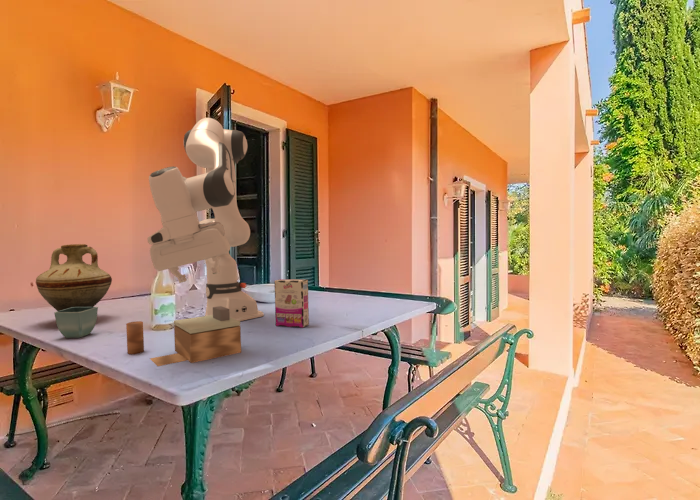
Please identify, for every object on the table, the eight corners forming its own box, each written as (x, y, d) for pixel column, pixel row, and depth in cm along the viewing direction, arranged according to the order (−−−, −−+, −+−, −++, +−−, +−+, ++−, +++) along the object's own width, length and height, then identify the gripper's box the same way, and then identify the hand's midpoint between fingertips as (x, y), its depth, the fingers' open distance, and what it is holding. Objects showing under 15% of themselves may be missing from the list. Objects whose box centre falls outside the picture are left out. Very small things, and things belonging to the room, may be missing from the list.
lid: (220, 317, 116) (220, 303, 116) (240, 325, 105) (240, 310, 105) (174, 324, 108) (173, 309, 108) (190, 333, 97) (189, 317, 97)
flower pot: (81, 339, 125) (80, 311, 125) (54, 340, 125) (53, 312, 125) (99, 332, 134) (98, 306, 134) (74, 333, 134) (73, 306, 134)
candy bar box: (309, 325, 141) (308, 279, 140) (303, 328, 136) (302, 280, 135) (281, 323, 144) (280, 278, 143) (274, 326, 139) (273, 280, 139)
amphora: (31, 323, 150) (27, 245, 149) (101, 313, 168) (98, 243, 167) (47, 333, 134) (42, 245, 133) (122, 320, 152) (119, 243, 151)
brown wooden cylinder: (142, 352, 110) (141, 320, 110) (145, 355, 107) (144, 323, 107) (126, 355, 108) (124, 322, 107) (129, 358, 105) (127, 325, 104)
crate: (221, 345, 117) (220, 318, 116) (241, 355, 106) (240, 326, 105) (147, 359, 104) (145, 329, 104) (161, 373, 93) (159, 340, 93)
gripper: (224, 217, 107) (239, 265, 110) (152, 236, 108) (169, 283, 110) (217, 220, 101) (233, 270, 104) (140, 240, 101) (159, 290, 104)
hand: (199, 277), depth 107 cm, fingers open, 8 cm apart
